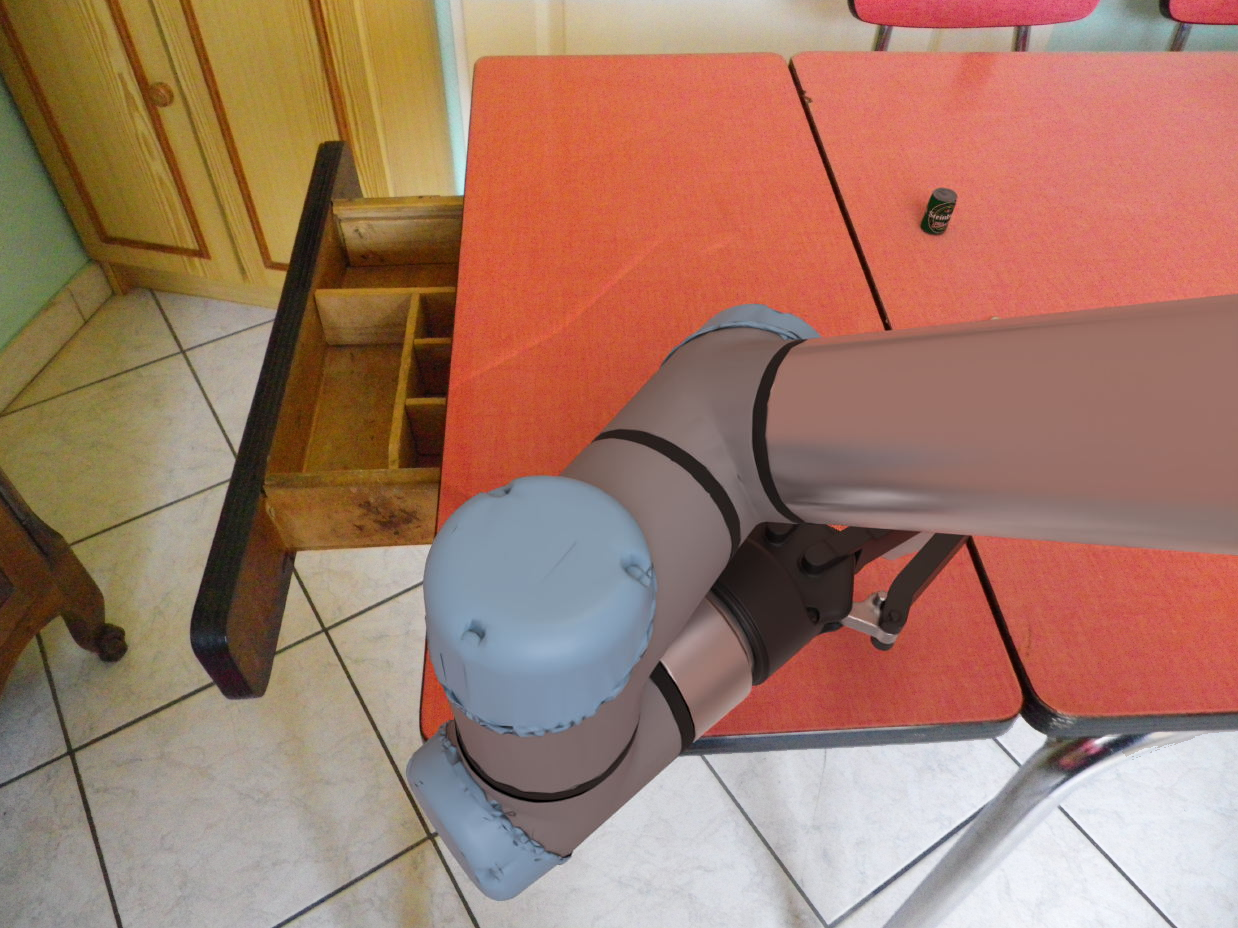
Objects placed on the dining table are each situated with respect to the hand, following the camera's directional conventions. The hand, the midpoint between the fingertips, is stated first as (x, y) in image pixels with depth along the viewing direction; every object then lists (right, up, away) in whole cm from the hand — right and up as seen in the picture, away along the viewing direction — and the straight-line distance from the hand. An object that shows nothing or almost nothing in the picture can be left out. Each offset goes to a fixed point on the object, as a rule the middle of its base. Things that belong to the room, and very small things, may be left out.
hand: (972, 414), depth 53 cm
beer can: (+13, +23, +43) cm, 51 cm away
